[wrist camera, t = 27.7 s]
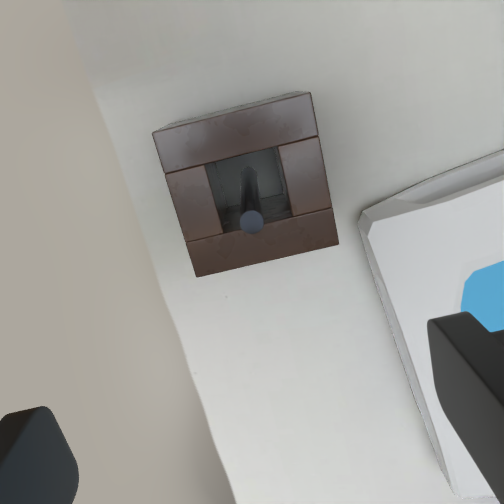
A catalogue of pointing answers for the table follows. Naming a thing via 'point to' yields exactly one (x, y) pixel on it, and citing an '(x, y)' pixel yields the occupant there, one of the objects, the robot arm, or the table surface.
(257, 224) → the stylus
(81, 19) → the table surface
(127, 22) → the table surface
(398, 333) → the document scanner
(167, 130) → the pen stand
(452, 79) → the table surface
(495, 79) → the table surface
